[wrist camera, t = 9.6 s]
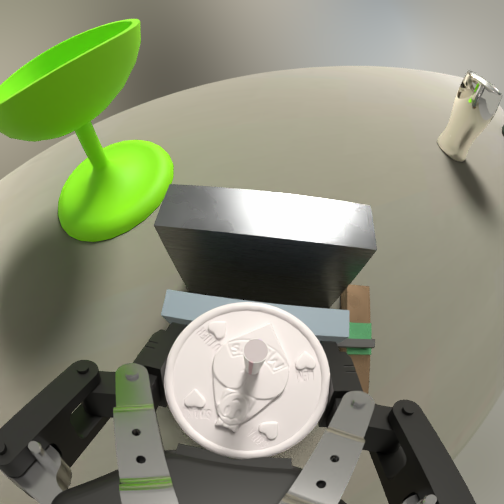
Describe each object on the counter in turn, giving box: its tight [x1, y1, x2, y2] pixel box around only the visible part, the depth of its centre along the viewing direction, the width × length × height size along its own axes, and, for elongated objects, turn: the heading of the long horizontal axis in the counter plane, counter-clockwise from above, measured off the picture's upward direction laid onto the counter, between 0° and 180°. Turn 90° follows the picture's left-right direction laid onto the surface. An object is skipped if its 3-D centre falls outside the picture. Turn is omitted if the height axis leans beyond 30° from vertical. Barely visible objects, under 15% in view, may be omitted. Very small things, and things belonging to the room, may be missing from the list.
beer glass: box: [437, 70, 502, 162], centre depth 28 cm, size 7×7×15 cm
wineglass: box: [0, 19, 174, 242], centre depth 21 cm, size 16×16×18 cm
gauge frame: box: [154, 184, 377, 394], centre depth 17 cm, size 15×12×10 cm
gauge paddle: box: [161, 289, 375, 348], centre depth 17 cm, size 14×2×7 cm, turn 83°
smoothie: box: [164, 302, 330, 459], centre depth 11 cm, size 6×6×14 cm
